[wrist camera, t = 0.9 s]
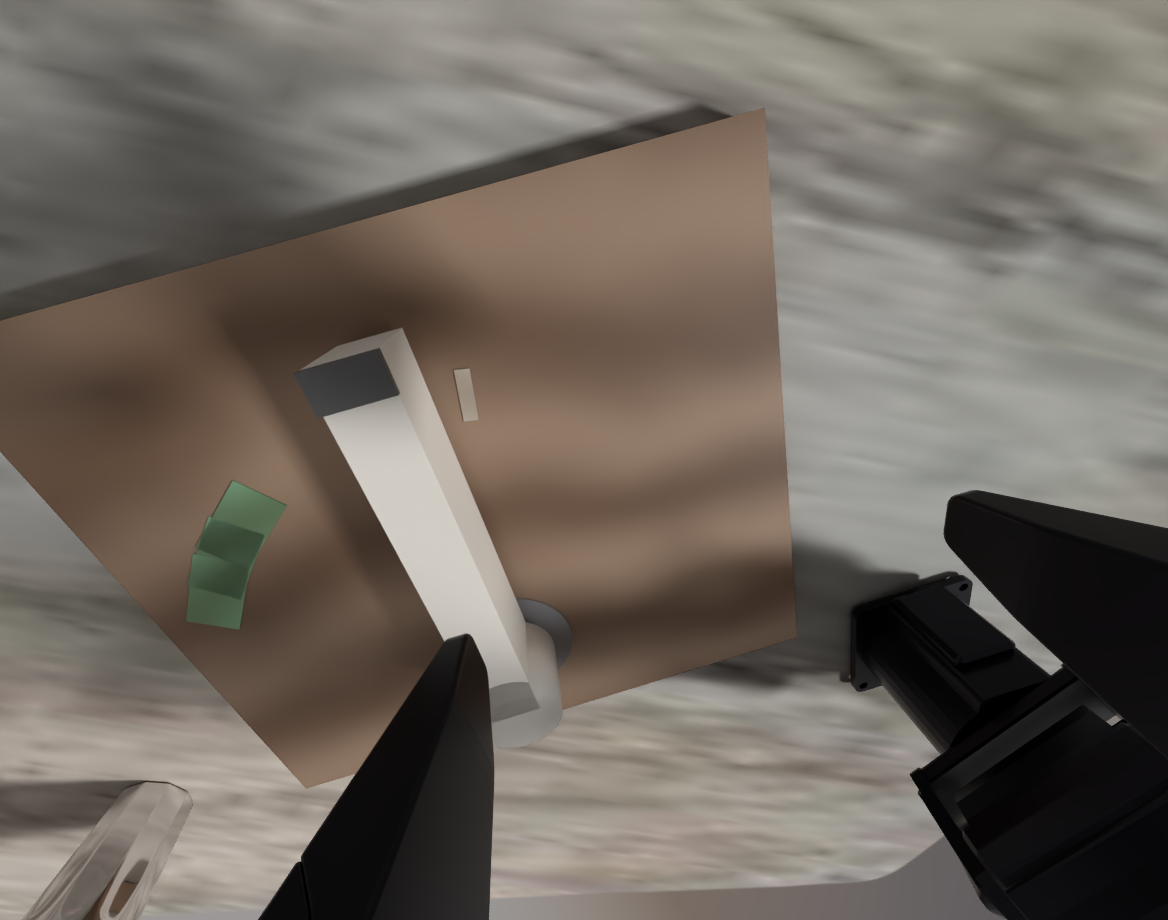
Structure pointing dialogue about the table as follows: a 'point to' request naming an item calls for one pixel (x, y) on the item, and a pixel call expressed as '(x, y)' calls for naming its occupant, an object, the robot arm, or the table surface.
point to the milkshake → (118, 858)
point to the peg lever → (435, 522)
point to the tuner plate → (471, 420)
